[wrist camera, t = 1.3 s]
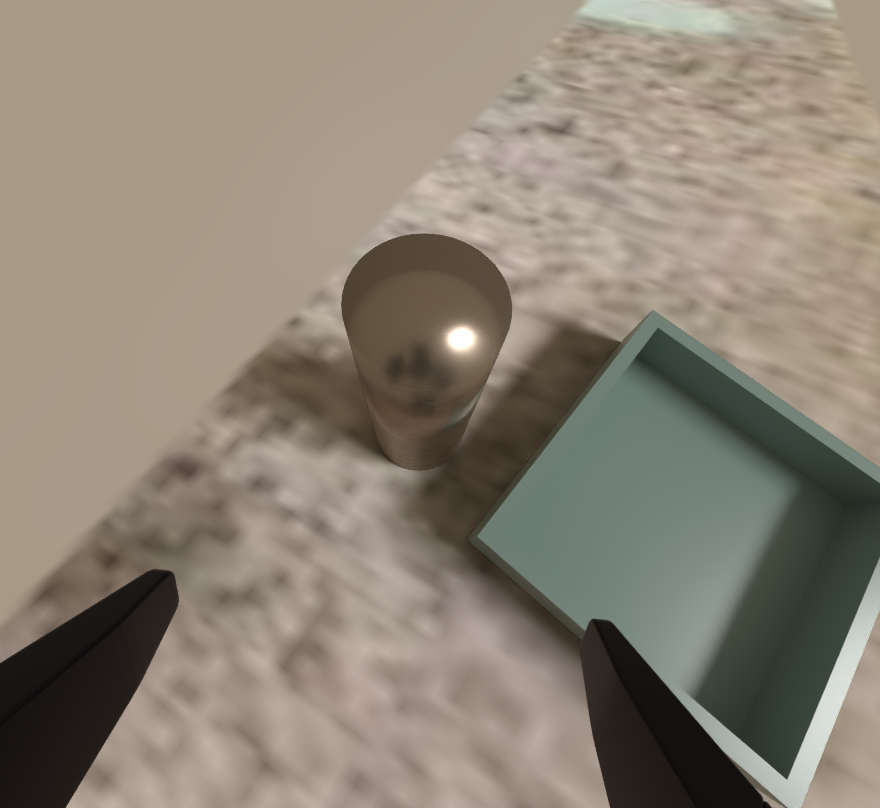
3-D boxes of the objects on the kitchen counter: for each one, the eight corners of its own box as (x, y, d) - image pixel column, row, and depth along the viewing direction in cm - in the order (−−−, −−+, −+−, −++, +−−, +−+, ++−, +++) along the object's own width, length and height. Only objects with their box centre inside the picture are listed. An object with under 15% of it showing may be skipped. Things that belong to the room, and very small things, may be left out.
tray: (728, 769, 20) (797, 816, 16) (466, 539, 23) (476, 536, 19) (849, 506, 25) (924, 498, 21) (621, 341, 28) (652, 309, 24)
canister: (423, 489, 24) (437, 417, 11) (357, 431, 24) (304, 306, 12) (479, 424, 25) (545, 298, 13) (414, 372, 26) (419, 207, 14)
